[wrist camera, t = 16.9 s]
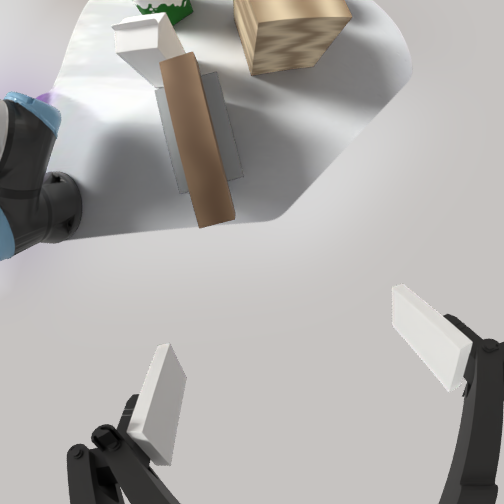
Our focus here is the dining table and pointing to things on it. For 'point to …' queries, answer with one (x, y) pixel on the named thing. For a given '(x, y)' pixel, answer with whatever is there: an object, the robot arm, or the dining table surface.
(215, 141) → the bar
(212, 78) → the grey block
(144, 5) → the milk carton
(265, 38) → the oak block
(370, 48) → the dining table surface
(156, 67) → the milk
